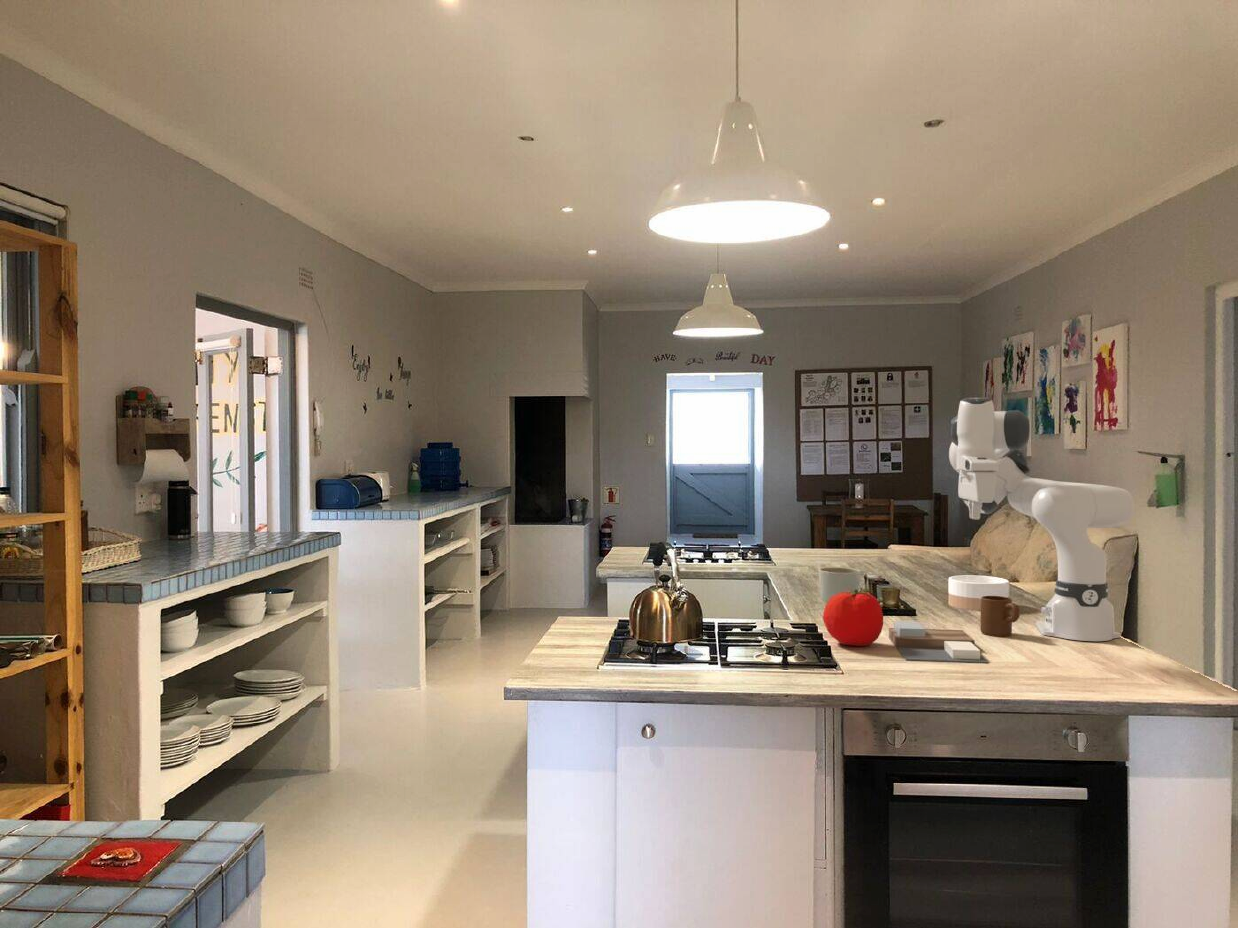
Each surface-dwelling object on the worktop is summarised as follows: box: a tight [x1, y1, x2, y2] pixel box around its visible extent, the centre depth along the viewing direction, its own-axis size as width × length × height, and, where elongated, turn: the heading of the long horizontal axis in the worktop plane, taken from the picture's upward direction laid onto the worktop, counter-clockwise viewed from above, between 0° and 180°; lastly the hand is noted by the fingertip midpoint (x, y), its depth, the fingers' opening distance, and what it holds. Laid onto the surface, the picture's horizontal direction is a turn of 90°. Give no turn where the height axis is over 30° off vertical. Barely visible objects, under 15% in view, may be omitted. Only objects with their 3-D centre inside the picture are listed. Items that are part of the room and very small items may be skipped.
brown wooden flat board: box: [888, 627, 976, 649], centre depth 221 cm, size 12×18×2 cm, turn 82°
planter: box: [818, 566, 862, 605], centre depth 273 cm, size 12×12×11 cm
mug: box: [980, 596, 1021, 637], centre depth 231 cm, size 12×8×9 cm, turn 16°
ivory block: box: [944, 641, 981, 659], centre depth 209 cm, size 9×6×2 cm, turn 172°
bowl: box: [947, 574, 1010, 612], centre depth 273 cm, size 17×17×8 cm
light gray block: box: [893, 620, 926, 637], centre depth 222 cm, size 9×6×2 cm, turn 172°
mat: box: [896, 647, 989, 664], centre depth 209 cm, size 12×18×1 cm, turn 82°
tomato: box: [822, 588, 884, 647], centre depth 220 cm, size 16×14×14 cm
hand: (974, 519), depth 219 cm, fingers closed
